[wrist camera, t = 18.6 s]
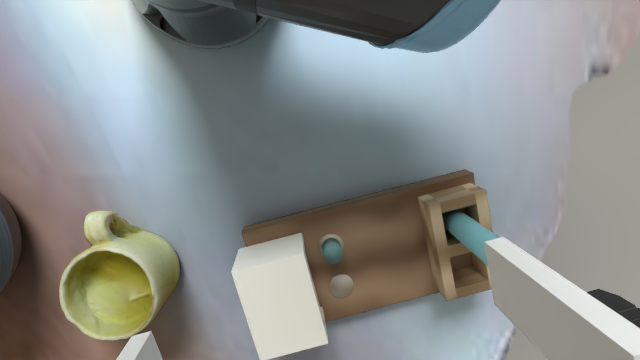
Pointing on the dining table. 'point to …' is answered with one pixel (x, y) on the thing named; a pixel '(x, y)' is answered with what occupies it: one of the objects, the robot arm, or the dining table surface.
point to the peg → (468, 232)
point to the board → (387, 245)
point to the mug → (117, 278)
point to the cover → (279, 297)
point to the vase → (8, 242)
